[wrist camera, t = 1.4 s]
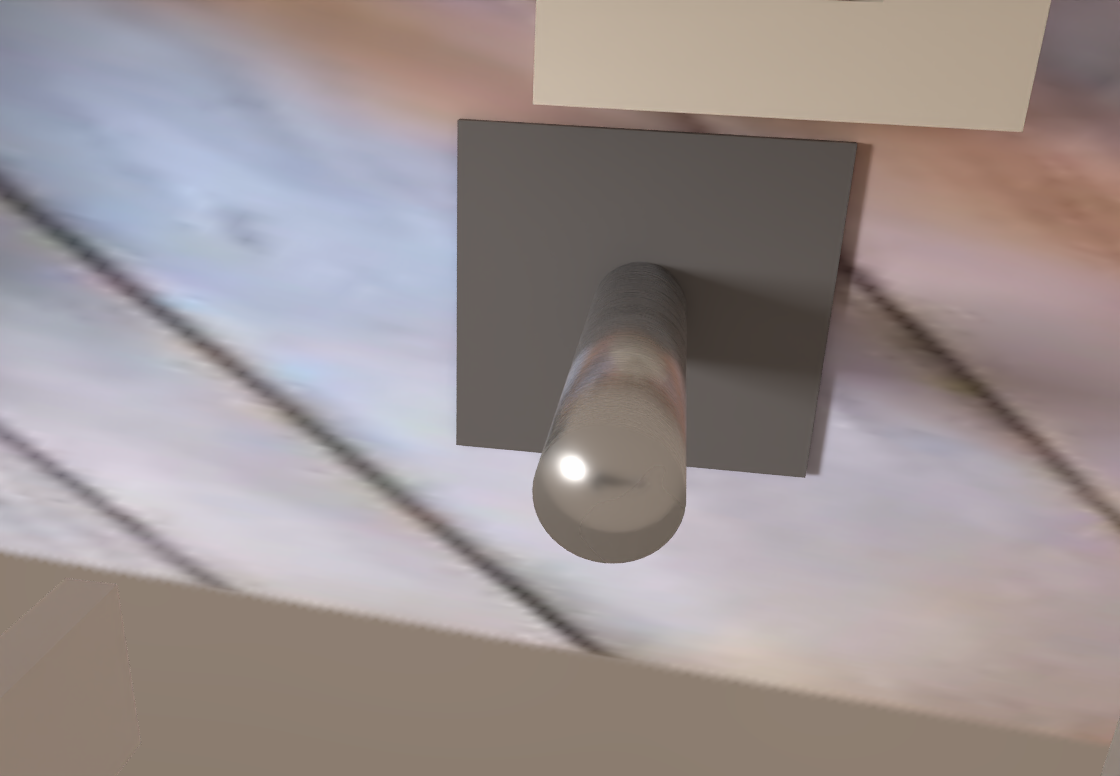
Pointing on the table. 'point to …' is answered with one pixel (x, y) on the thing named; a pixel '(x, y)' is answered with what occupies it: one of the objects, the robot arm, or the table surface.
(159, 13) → the table surface
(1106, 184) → the table surface
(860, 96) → the hole block
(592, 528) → the peg
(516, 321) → the mat
